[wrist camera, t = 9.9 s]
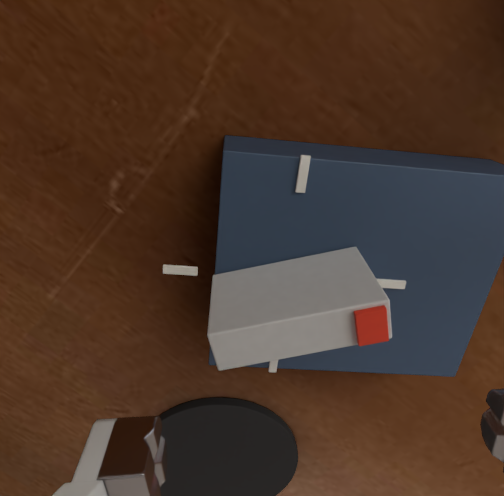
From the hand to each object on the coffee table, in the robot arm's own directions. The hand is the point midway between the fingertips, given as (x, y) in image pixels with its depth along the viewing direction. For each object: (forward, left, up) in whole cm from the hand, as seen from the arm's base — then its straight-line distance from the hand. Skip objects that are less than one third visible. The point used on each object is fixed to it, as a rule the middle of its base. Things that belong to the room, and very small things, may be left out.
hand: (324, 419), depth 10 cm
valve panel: (+2, 0, -11) cm, 11 cm away
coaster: (-2, -15, -11) cm, 19 cm away
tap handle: (0, 0, -8) cm, 8 cm away
